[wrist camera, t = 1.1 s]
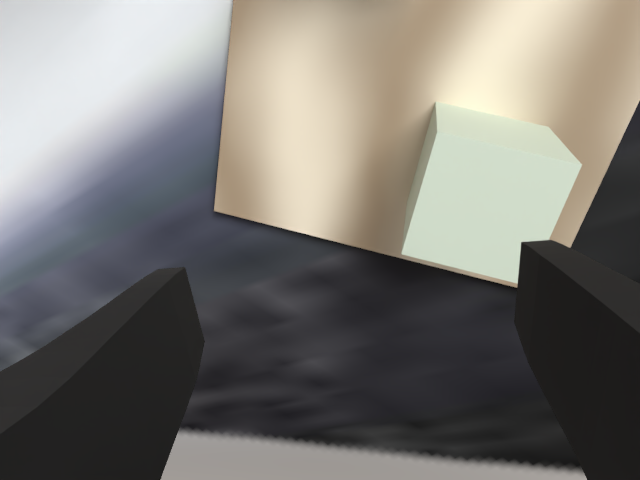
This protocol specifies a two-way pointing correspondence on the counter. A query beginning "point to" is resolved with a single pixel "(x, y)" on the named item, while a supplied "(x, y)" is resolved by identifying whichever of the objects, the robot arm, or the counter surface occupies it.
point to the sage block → (485, 190)
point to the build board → (409, 102)
